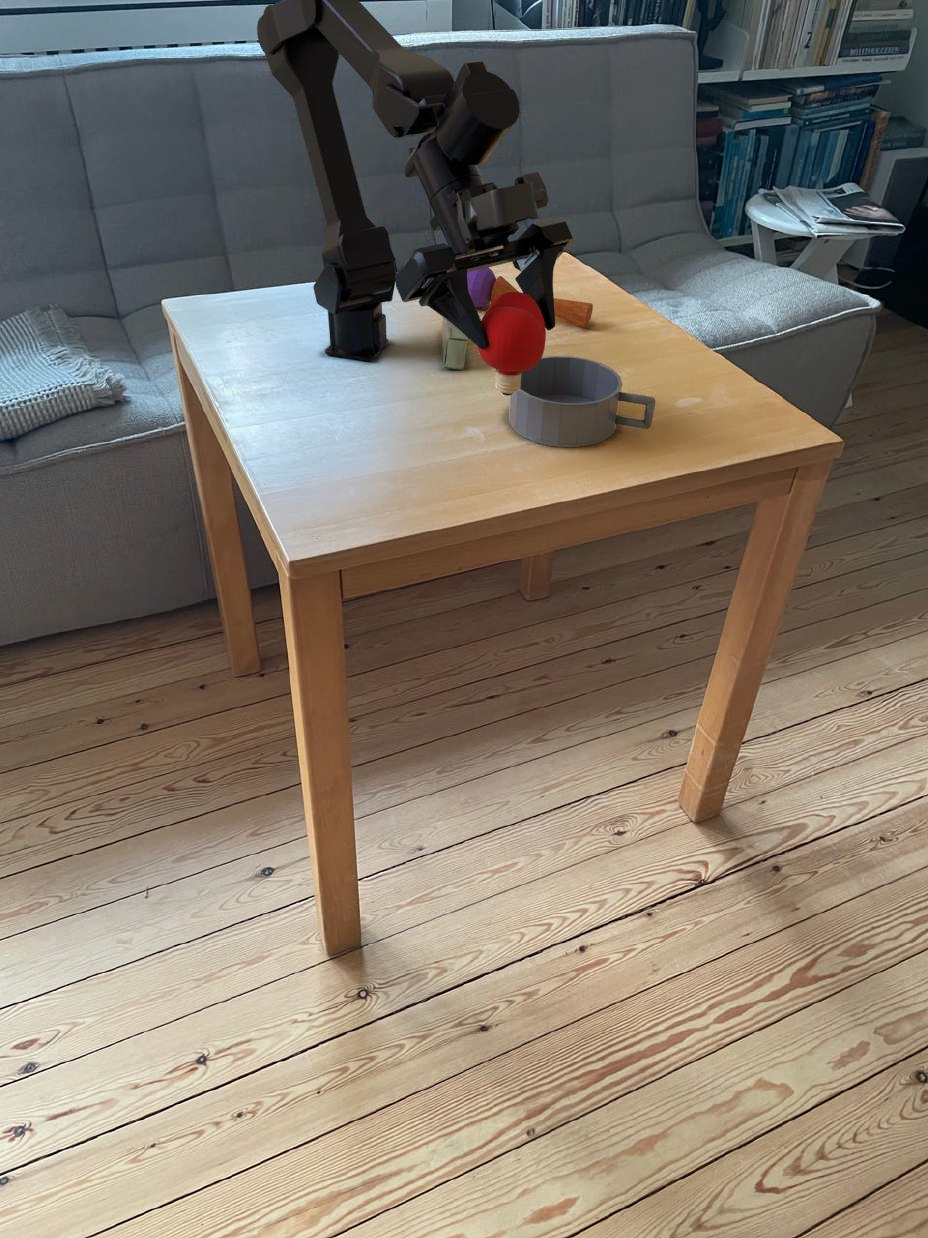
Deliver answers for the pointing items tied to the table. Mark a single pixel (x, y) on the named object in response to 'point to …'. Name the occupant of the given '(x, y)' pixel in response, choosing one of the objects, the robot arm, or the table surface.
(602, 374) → the measuring cup
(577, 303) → the maraca
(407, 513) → the table surface
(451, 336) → the medication box
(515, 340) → the light bulb
